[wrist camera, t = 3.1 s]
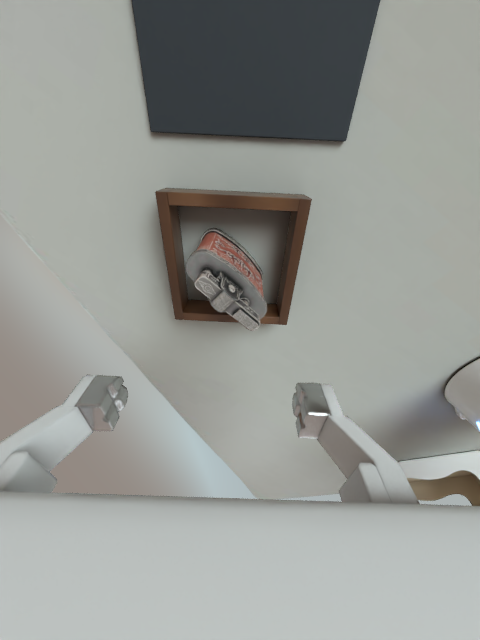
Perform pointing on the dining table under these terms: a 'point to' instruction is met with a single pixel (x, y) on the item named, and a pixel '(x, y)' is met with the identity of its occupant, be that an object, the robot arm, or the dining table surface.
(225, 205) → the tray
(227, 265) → the lighter
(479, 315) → the dining table surface
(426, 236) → the dining table surface
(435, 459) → the gable box
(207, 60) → the mat
